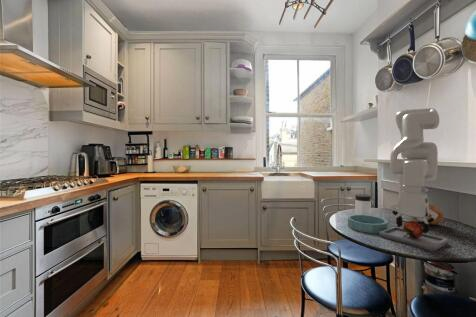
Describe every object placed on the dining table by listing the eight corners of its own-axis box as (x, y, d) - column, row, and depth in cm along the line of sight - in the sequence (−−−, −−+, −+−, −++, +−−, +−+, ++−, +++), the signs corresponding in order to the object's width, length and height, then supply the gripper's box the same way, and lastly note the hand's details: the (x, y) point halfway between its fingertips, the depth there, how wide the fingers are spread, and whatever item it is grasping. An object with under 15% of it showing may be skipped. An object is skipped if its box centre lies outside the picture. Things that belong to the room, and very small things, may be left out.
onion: (448, 226, 123) (449, 206, 123) (433, 228, 120) (434, 208, 120) (428, 220, 132) (428, 202, 132) (414, 222, 129) (415, 203, 129)
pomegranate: (413, 246, 100) (434, 232, 100) (401, 231, 102) (421, 217, 101) (404, 241, 108) (423, 228, 107) (392, 227, 109) (411, 214, 108)
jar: (374, 216, 141) (374, 196, 141) (365, 218, 137) (366, 197, 137) (360, 213, 149) (360, 193, 149) (351, 215, 145) (351, 194, 145)
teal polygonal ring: (360, 220, 134) (360, 213, 133) (393, 228, 119) (393, 220, 119) (341, 225, 124) (341, 217, 124) (375, 235, 110) (375, 226, 110)
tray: (394, 230, 117) (394, 226, 117) (447, 243, 100) (447, 239, 100) (379, 236, 109) (379, 231, 109) (434, 251, 92) (434, 246, 92)
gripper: (441, 191, 99) (440, 233, 99) (395, 186, 113) (394, 222, 114) (434, 193, 95) (433, 237, 95) (387, 187, 109) (386, 225, 110)
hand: (412, 229), depth 104 cm, fingers open, 9 cm apart
